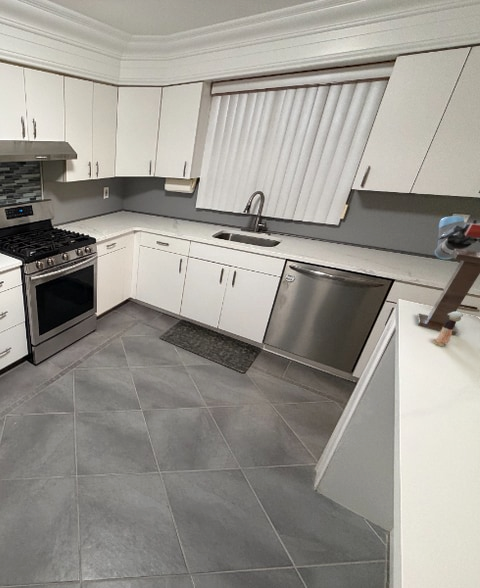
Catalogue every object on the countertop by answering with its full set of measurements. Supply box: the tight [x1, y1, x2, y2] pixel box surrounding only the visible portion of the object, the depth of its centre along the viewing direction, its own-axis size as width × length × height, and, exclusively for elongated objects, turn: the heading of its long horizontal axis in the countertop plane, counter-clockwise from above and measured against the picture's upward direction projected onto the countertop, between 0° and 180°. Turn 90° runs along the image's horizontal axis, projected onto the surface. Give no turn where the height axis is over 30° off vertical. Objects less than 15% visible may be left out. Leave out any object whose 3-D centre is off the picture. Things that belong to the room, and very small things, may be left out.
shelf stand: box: [416, 249, 480, 336], centre depth 116 cm, size 12×10×29 cm
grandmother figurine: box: [432, 311, 464, 347], centre depth 108 cm, size 8×4×13 cm, turn 137°
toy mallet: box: [464, 222, 480, 238], centre depth 120 cm, size 15×6×4 cm, turn 137°
